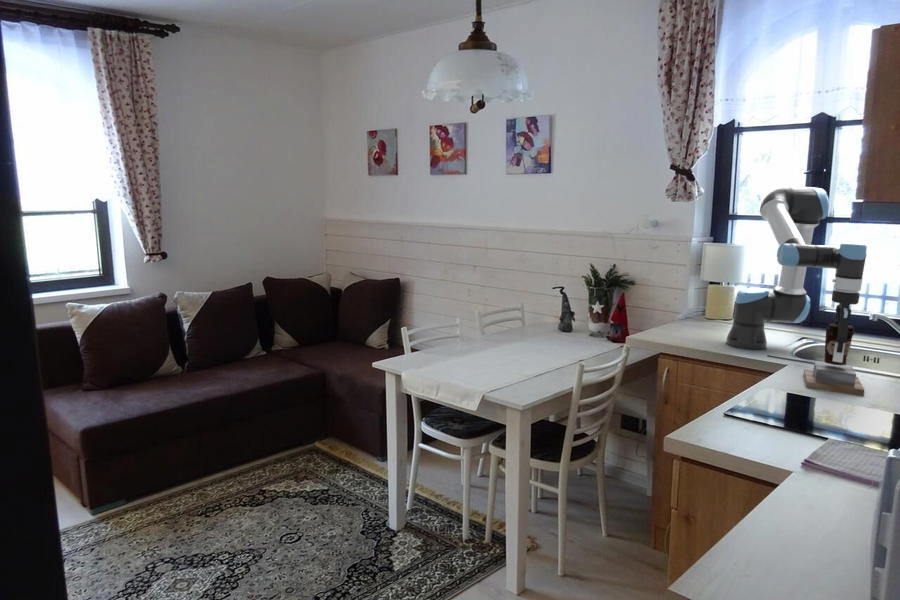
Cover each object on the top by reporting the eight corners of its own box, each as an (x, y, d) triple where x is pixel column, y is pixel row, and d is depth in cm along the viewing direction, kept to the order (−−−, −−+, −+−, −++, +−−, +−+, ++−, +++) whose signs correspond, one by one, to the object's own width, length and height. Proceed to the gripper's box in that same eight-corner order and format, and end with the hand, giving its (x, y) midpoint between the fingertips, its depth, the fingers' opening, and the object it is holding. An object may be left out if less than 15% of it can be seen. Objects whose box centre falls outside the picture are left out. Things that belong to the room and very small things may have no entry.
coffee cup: (854, 368, 209) (860, 329, 207) (826, 366, 211) (832, 327, 208) (843, 361, 218) (849, 323, 215) (817, 358, 219) (822, 321, 217)
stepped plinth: (803, 374, 226) (805, 358, 225) (856, 382, 220) (859, 365, 218) (806, 387, 212) (809, 369, 211) (863, 396, 205) (866, 377, 204)
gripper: (830, 285, 220) (820, 350, 225) (836, 294, 202) (825, 364, 206) (855, 287, 217) (845, 353, 222) (864, 296, 199) (853, 368, 203)
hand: (836, 358), depth 214 cm, fingers closed on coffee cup, 8 cm apart
